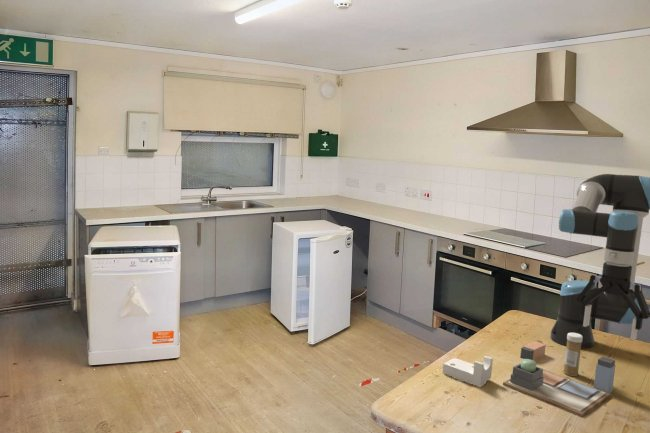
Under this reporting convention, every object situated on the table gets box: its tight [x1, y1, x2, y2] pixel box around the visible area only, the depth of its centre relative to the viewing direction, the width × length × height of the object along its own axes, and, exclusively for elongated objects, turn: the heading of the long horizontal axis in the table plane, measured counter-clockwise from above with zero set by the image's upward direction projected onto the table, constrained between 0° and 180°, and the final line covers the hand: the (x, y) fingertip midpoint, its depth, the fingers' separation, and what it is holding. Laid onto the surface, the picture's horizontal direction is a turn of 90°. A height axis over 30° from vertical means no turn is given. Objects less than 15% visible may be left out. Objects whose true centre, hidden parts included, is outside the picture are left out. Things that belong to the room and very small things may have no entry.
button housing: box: [509, 362, 544, 391], centre depth 166 cm, size 7×7×5 cm
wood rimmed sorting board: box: [502, 369, 612, 418], centre depth 165 cm, size 20×24×1 cm
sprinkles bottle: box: [562, 333, 583, 377], centre depth 177 cm, size 5×5×14 cm
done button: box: [520, 358, 538, 373], centre depth 166 cm, size 4×4×3 cm
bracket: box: [442, 355, 494, 388], centre depth 171 cm, size 13×7×8 cm, turn 48°
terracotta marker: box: [519, 340, 547, 361], centre depth 191 cm, size 4×4×10 cm
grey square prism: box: [593, 356, 616, 394], centre depth 166 cm, size 4×4×10 cm
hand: (608, 332), depth 164 cm, fingers open, 13 cm apart
